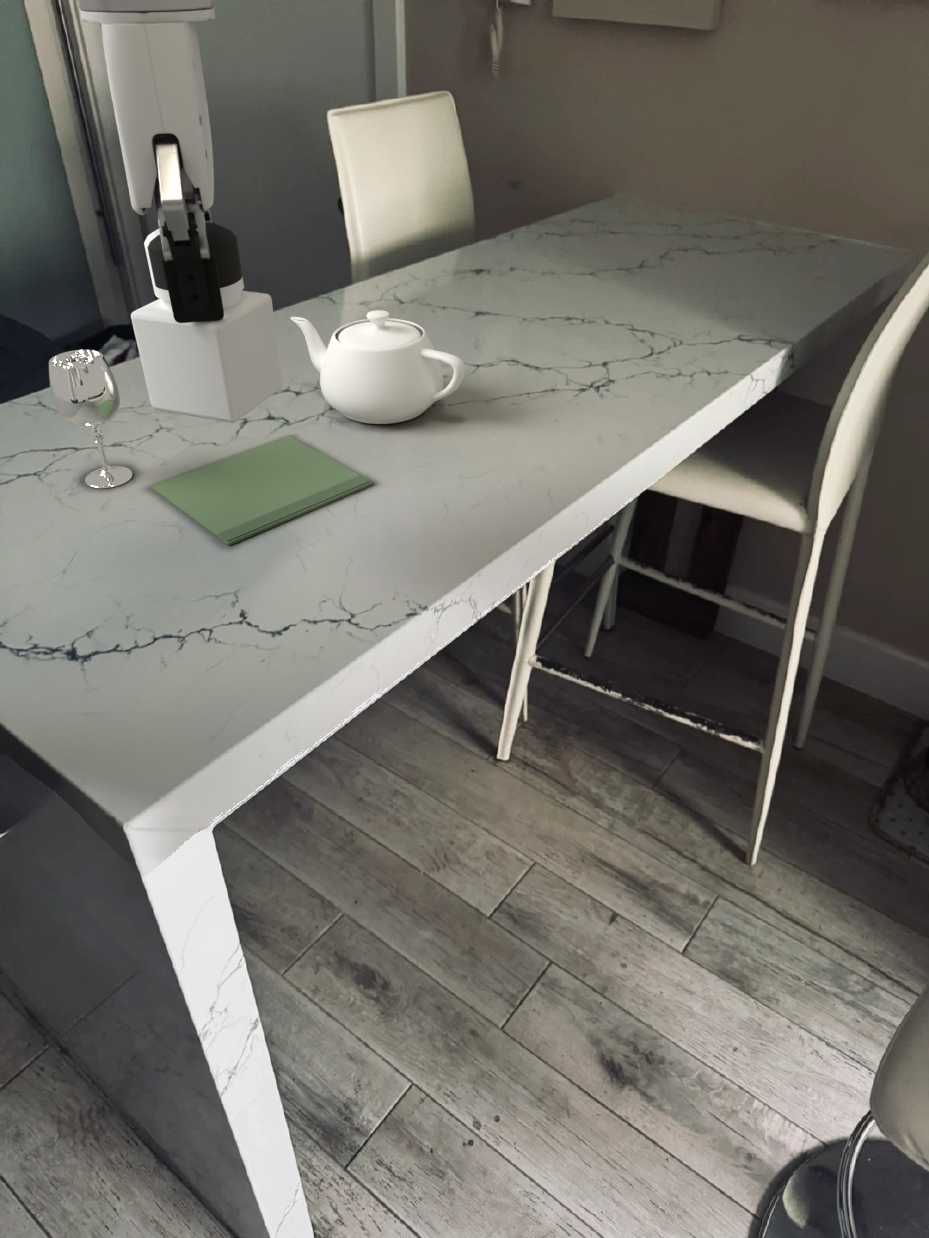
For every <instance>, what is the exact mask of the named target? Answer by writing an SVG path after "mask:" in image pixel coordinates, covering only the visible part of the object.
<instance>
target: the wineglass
mask: <svg viewBox="0 0 929 1238" xmlns="http://www.w3.org/2000/svg"><path fill="white" fill-rule="evenodd" d="M48 380H49V388H50V393H51V399H52V402H53V404H54V407H55V409H56V411H57V412H58V414H59V415H60V417H61V418H63V420H65V421H66V422H67V423H69V424H70V425H73V426H77V427H81V428H91V431H90V434H91V438H92V440H93V441H94V443H95V445H96V447H97V449H98V452H99V455H100V459H101V467H100V468H98V469H95V470H93V471H91V472H89V473H88V474H87V475H86V476H85V478H84V483H85V484H86V486H88V487H90V488H94V489H109V488H110V489H111V488H115V487H119V486H122V485H124V484H126V483H127V482H129V481H130V480H131V479H132V478H133V475H134V474H133V471H132V469H130V468H128V467H126V466H121V465H110V464H109V462H108V459H107V456H106V453H105V449H104V448H105V447H104V433H103V431H102V429H101V428H100V426H103V425H105V424H106V423H108V422H110V421H111V420H112V419H114V418H115V417H116V415H117V414H118V412H119V409H120V405H121V398H120V397H121V396H120V391H119V386H118V384H117V381H116V378H115V376H114V374H113V371H112V369H111V367H110V366H109V364H108V362H107V360H106V358H105V356H104V354H103V353H102V352H100V351H97V350H95V349H76V350H75V349H74V350H70V351H69V350H68V351H65V352H61V353H58V354H57V355H54V356H52V357H51V358H50V359H49V361H48Z"/></svg>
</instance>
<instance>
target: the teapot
mask: <svg viewBox="0 0 929 1238" xmlns="http://www.w3.org/2000/svg"><path fill="white" fill-rule="evenodd" d="M390 316H391V315H390V312H389V311H386V310H380V309H376V310H371V311H368V312H367V313H366V318H365V319H359V320H355V321H351V322H347V323H345V324H343V325H341V326H340V327H338V328H337V329H335V331H334V332H333V333H332V334H331V338H330V340H329V343H328V345H327V346H326V345H325V343H324V342H323V340H322V338H321V336H320V334H319V333H318V330H317V329H316V327H315V326H314V325H313V324H312V322H311V321H310V320H309V319H306V318H304V317H300V316H291V317H290V318H289V319H290V320H291V321H292V322H293V323H294V324H295V325H297V327H298V328H300V330H301V332H302V334H303V336H304V339H305V342H306V345H307V346H306V347H307V350H308V354H309V358H310V361H311V363H312V365H313V367H314V369H315V370H316V371H317V372H318V373H319V374H320V376H319V385H320V390H321V394H322V396H323V398H324V399H325V400H326V402H327V403H328V404H329V406H331V407H332V408H334V409H335V410H336V411H337V412H339V413H341V414H342V415H343V416H344V417H345V418H348V419H350V420H352V421H356V422H359V423H363V424H371V425H372V424H374V425H389V424H396V423H402V422H406V421H410V420H413V419H414V418H417V417H418V416H420V415H422V414H423V413H424V412H425V411H427V409H428V408H430V407H431V406H432V405H433V404H435V402H436V401H439V400H441V399H444V398H446V397H448V396H449V395H451V394H453V393H454V392H455V391H456V390H457V389H458V388H459V386H460V385H461V384H462V382H463V380H464V378H465V371H466V368H465V363H464V362H463V360H462V359H461V358H460V357H459V356H456V355H454V354H451V353H448V352H444V351H440V350H435V347H434V346H433V344H432V342H431V339H430V337H429V335H428V333H427V332H426V330H425V329H424V328H423V327H422V326H421V325H419V324H417V323H416V322H412V321H409V320H406V319H405V320H404V319H399V318H390ZM441 362H442V363H445V364H447V365H449V366H450V367H451V368H452V370H453V375H452V378H451V380H450V381H449V383H448V385H447V386H445V387H444V372H443V367H442V365H441Z"/></svg>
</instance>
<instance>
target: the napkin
mask: <svg viewBox="0 0 929 1238" xmlns="http://www.w3.org/2000/svg"><path fill="white" fill-rule="evenodd" d="M371 486H373V482H372V481H371V479H369V478H367V477H365V476H364V475H362V474H358V473H357V472H355V471H353V470H352V469H349V468H348V467H346V466H345V465H342V464H341V463H339V462H337V461H336V460H334V459H332V458H330V457H328V456H327V455H325V454H324V453H321V452H320V451H317V450H315V448H312V447H310V446H309V445H307V444H305V443H304V442H301V441H300V440H298V439H297V438H295V437H293V436H292V435H288V436H286V437H283V438H280V439H277V440H275V441H272V442H269V443H267V444H264V445H261V446H258V447H256V448H253V449H250V450H248V451H244V452H242V453H240V454H236V455H234V456H231V457H228V458H225V459H222V460H220V461H217V462H215V463H211V464H209V465H206V466H203V467H201V468H198V469H195V470H193V471H190V472H187V473H184V474H181V475H179V476H175V477H173V478H170V479H168V480H165V481H162V482H159V483H157V484H153V485H151V489H152V490H153V491H154V492H156V493H157V494H158V495H160V496H161V497H162V498H164V499H165V500H167V501H168V502H169V503H170V504H172V505H173V506H174V507H176V508H177V509H179V510H180V511H181V512H183V513H184V514H185V515H187V516H188V517H189V518H191V519H192V520H193V521H195V522H196V523H197V524H199V525H200V526H201V527H203V528H204V529H205V530H207V531H208V532H210V533H211V534H212V535H214V536H215V537H216V538H218V539H219V540H220V541H222V542H223V543H225V544H226V545H227V546H232V545H234V544H236V543H239V542H241V541H244V540H246V539H249V538H250V537H253V536H255V535H258V534H260V533H263V532H265V531H267V530H269V529H271V528H274V527H276V526H278V525H281V524H284V523H286V522H288V521H290V520H293V519H295V518H297V517H299V516H302V515H305V514H307V513H309V512H312V511H314V510H316V509H318V508H321V507H324V506H326V505H328V504H330V503H333V502H335V501H338V500H340V499H343V498H344V497H347V496H349V495H352V494H354V493H356V492H359V491H361V490H363V489H365V488H368V487H371Z"/></svg>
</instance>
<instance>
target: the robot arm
mask: <svg viewBox="0 0 929 1238" xmlns="http://www.w3.org/2000/svg"><path fill="white" fill-rule="evenodd" d="M77 5H78V8H79V13H80V17H81V21H82V23H83V22H85V23H89V24H90V23H91V24H100V28H101V37H102V38H101V39H102V46H103V53H104V60H105V68H106V74H107V80H108V86H109V91H110V96H111V103H112V107H113V113H114V118H115V123H116V128H117V134H118V139H119V140H118V141H119V145H120V150H121V155H122V161H123V166H124V171H125V177H126V182H127V188H128V189H127V190H128V192H129V200H130V205H131V209H132V210H133V211H135V212H136V214H138V215H140V216H146V214H147V211H148V209H151V208H152V207H153V202H155V212H156V216H157V222H158V229H159V230H160V237H161V243H162V250H163V255H164V258H162V262H163V267H164V272H165V277H166V282H167V287H168V292H169V297H170V301H171V306H172V311H173V316H174V319H175V321H176V322H178V323H190V322H204V321H217V320H221V319H223V317H224V309H223V303H222V298H221V292H220V286H219V280H218V274H217V268H216V262H215V256H214V255H210V253H209V246H208V239H207V232H206V225H205V222H207V223H214V224H216V222H213V219H212V211H211V207H213V205H214V196H215V194H214V193H215V168H214V167H215V166H214V150H213V149H214V148H213V141H212V129H211V122H210V114H209V105H208V98H207V92H206V85H205V77H204V72H203V71H204V70H203V63H202V58H201V57H202V56H201V51H200V44H199V37H198V31H197V25H196V22H206V21H209V20H212V21H213V20H216V13H215V7H214V6H215V5H214V0H77ZM194 222H196V224H194ZM196 229H197V231H196ZM197 236H198V238H197Z"/></svg>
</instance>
